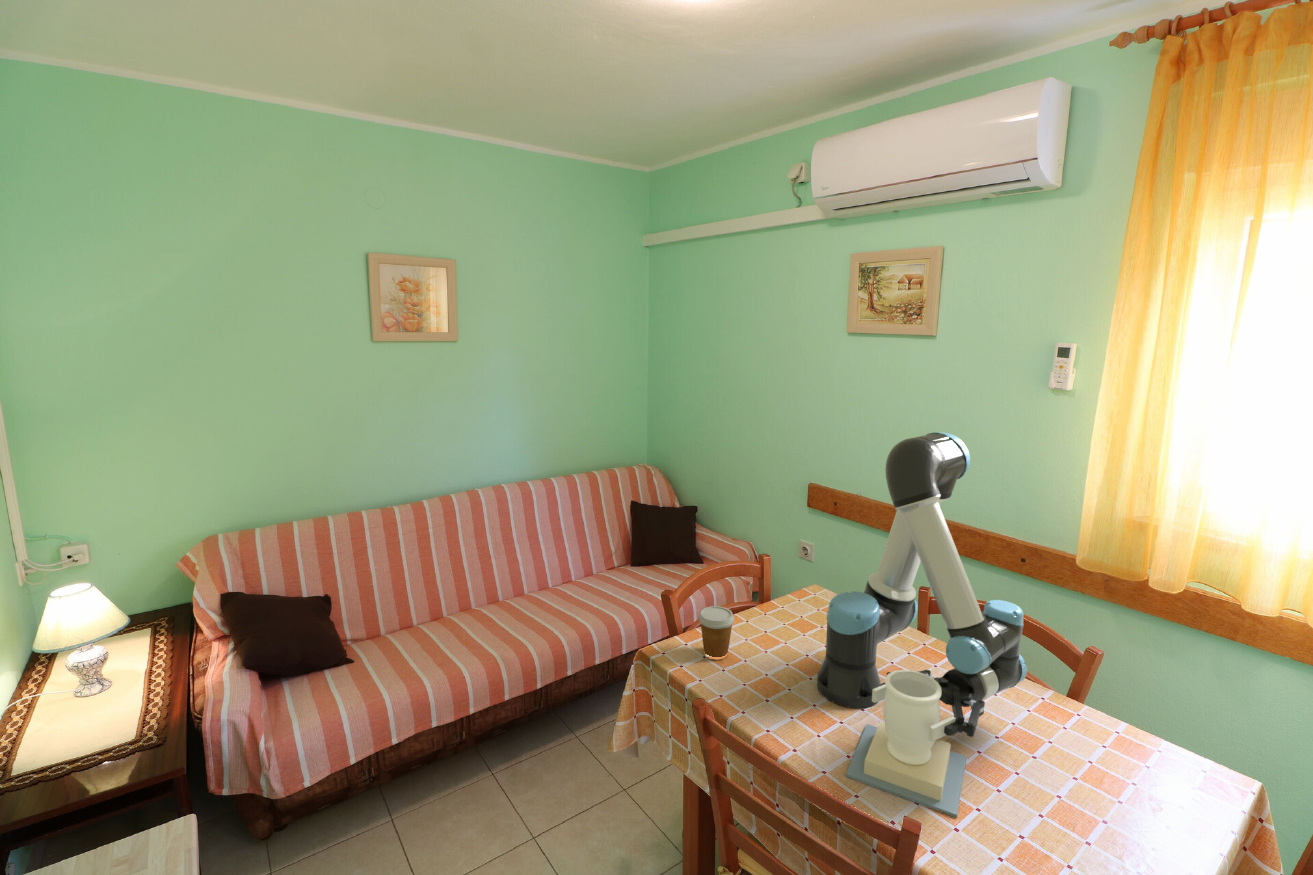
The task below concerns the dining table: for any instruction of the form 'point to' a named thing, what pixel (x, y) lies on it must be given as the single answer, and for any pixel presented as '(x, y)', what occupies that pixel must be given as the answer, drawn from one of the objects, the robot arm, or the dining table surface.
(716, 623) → the disposable coffee cup
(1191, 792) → the dining table surface
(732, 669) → the dining table surface
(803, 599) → the dining table surface
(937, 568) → the robot arm
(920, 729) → the jar
